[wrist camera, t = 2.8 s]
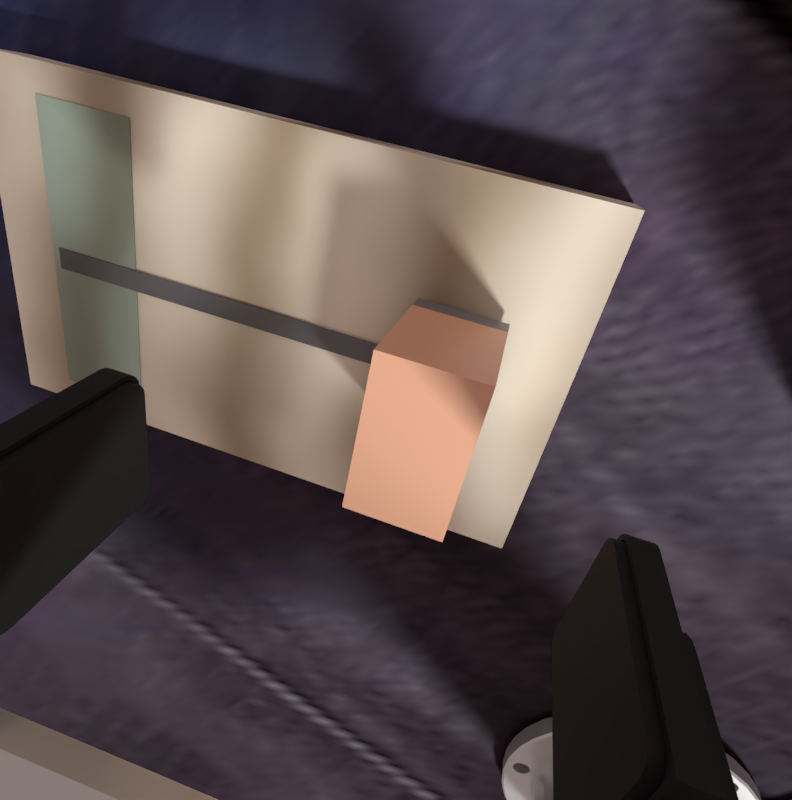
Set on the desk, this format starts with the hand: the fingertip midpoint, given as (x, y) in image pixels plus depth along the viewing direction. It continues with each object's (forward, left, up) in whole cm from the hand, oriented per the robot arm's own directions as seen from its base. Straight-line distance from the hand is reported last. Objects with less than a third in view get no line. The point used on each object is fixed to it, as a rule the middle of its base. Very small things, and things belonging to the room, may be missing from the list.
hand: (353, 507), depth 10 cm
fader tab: (-1, +1, -8) cm, 8 cm away
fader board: (+6, +1, -11) cm, 12 cm away
